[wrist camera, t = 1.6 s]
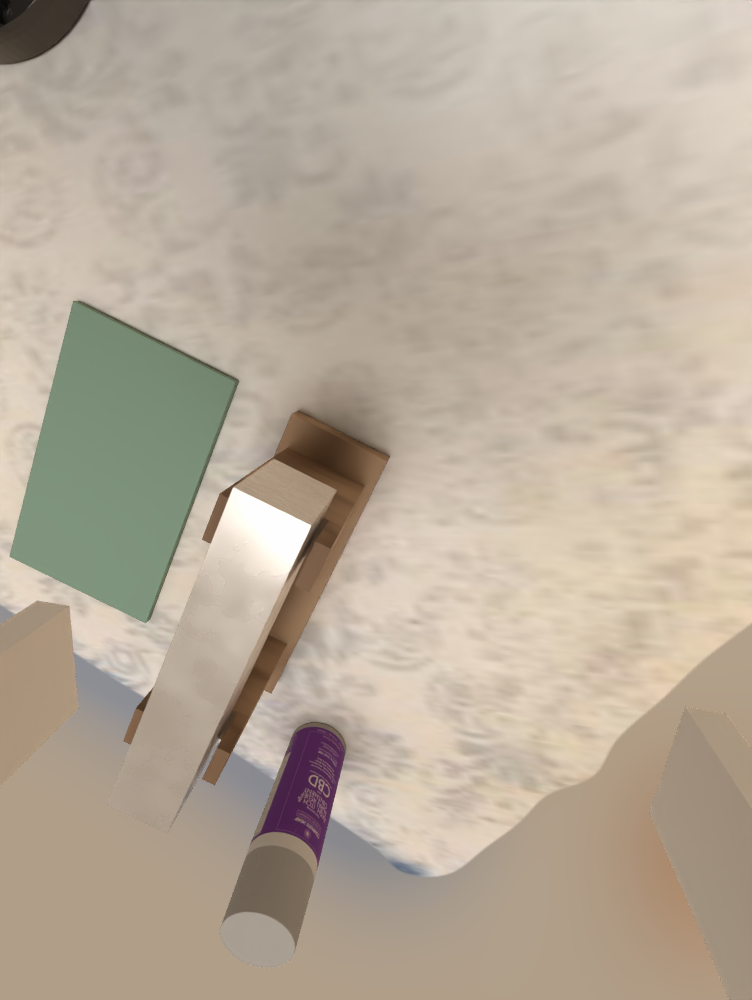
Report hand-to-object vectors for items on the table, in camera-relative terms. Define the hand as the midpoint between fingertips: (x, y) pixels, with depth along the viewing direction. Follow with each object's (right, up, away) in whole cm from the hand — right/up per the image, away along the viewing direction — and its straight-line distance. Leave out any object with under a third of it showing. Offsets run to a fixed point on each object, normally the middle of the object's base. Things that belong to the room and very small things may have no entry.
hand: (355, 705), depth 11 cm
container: (-4, -16, +33) cm, 37 cm away
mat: (-19, +6, +27) cm, 34 cm away
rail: (-7, -3, +19) cm, 20 cm away
